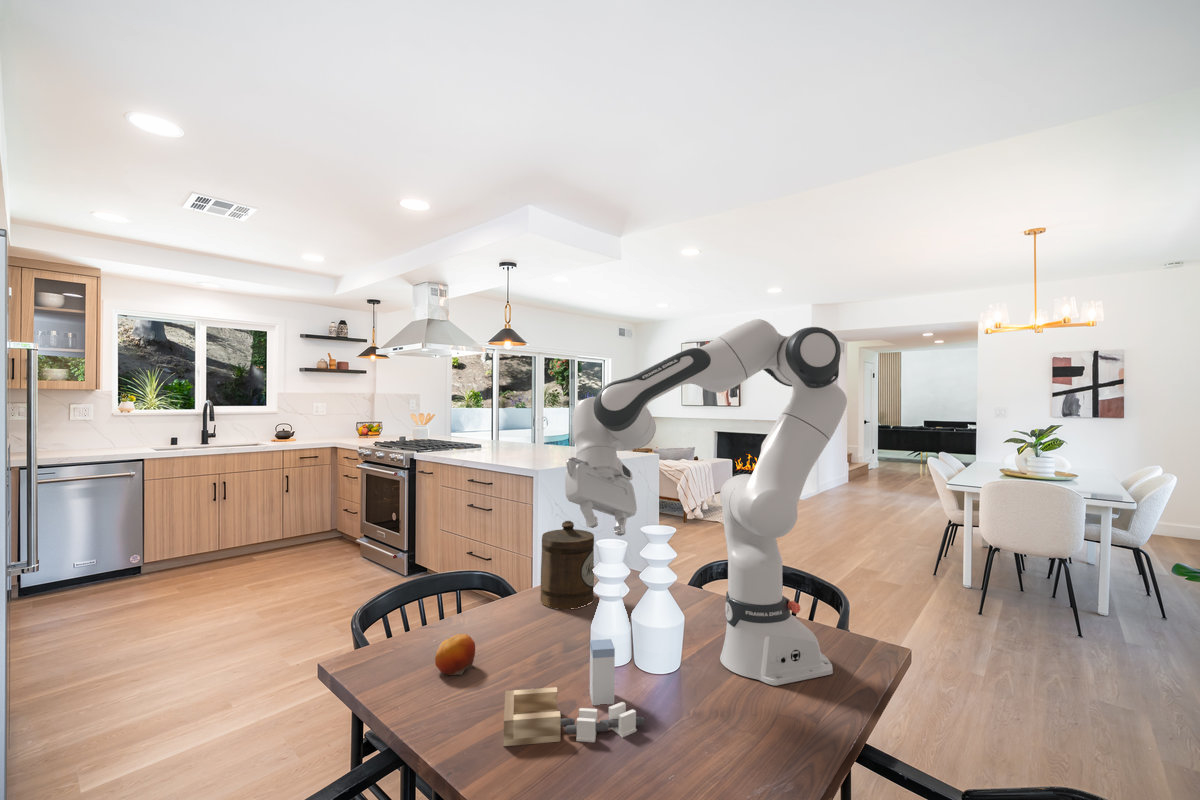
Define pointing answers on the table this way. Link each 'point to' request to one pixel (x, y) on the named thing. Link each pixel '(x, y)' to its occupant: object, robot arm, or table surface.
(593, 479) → the robot arm
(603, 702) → the block
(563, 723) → the cable
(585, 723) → the clip
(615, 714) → the clip
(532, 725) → the end holder
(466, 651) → the fruit
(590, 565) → the wooden container
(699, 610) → the table surface
